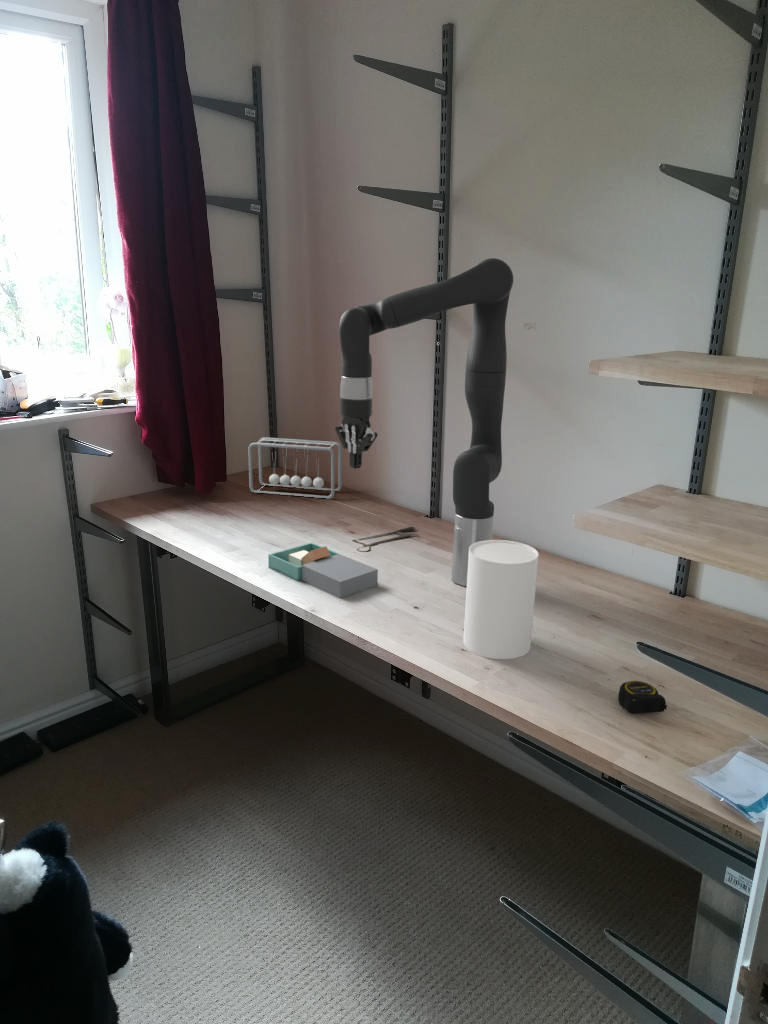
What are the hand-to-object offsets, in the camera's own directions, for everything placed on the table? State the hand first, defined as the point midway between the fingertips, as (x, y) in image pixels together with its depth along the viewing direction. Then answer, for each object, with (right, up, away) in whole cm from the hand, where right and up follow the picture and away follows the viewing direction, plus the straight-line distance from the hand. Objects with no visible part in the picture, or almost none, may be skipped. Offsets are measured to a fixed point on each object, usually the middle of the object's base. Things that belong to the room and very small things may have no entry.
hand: (355, 467), depth 179 cm
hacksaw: (+8, -19, +32) cm, 38 cm away
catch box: (-13, -25, +10) cm, 30 cm away
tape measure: (+52, -45, -50) cm, 85 cm away
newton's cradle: (-24, -4, +77) cm, 81 cm away
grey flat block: (-4, -28, +1) cm, 28 cm away
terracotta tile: (-10, -23, +6) cm, 26 cm away
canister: (+30, -38, -28) cm, 55 cm away
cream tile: (-14, -22, +10) cm, 28 cm away
